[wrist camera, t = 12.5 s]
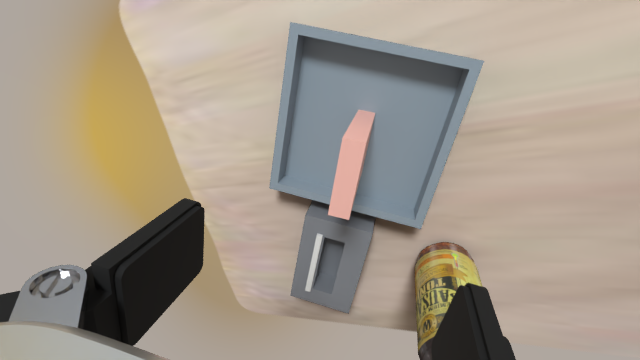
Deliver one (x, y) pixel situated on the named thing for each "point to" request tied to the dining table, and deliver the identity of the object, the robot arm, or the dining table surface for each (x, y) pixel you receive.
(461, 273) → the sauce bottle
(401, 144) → the tray
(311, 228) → the dispenser
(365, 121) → the ticket
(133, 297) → the robot arm
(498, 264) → the dining table surface
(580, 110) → the dining table surface
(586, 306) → the dining table surface
